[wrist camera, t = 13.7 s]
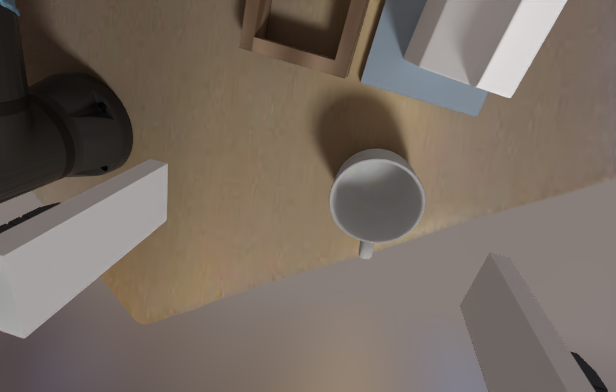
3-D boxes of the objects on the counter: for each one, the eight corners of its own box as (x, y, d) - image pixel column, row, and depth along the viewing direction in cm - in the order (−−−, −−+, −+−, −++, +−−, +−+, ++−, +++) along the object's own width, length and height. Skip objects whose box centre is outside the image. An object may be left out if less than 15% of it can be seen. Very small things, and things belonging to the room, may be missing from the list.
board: (360, 81, 40) (360, 82, 39) (400, -45, 34) (400, -48, 33) (474, 115, 39) (476, 116, 38) (534, -11, 33) (539, -12, 32)
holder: (252, 47, 41) (239, 47, 37) (271, -75, 36) (258, -89, 32) (347, 75, 40) (344, 78, 36) (382, -47, 35) (382, -58, 31)
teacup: (352, 129, 43) (345, 146, 35) (433, 156, 42) (442, 178, 35) (321, 218, 49) (310, 247, 42) (391, 243, 48) (392, 277, 41)
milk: (481, 18, 34) (617, -25, 14) (452, 77, 37) (535, 108, 17) (425, 0, 35) (483, -67, 15) (401, 59, 37) (423, 70, 17)
